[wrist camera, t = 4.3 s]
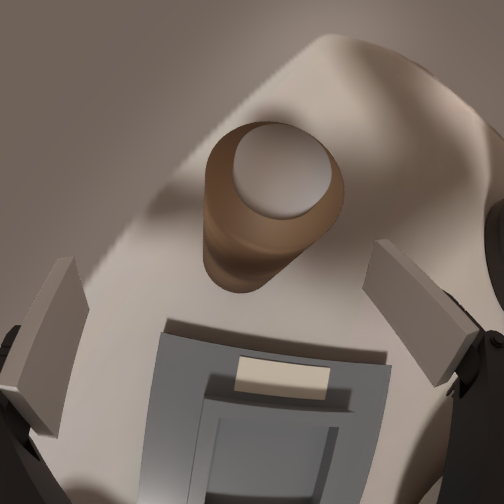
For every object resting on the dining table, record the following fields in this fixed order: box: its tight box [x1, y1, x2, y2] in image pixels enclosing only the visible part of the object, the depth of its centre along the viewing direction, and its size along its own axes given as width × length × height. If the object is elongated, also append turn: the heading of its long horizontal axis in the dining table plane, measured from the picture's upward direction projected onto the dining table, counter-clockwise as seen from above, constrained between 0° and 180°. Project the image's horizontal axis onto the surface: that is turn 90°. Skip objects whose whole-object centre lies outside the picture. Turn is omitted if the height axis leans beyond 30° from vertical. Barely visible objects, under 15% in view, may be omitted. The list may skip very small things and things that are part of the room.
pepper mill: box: [203, 122, 344, 293], centre depth 15 cm, size 5×5×12 cm
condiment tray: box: [138, 332, 392, 504], centre depth 16 cm, size 16×16×2 cm
